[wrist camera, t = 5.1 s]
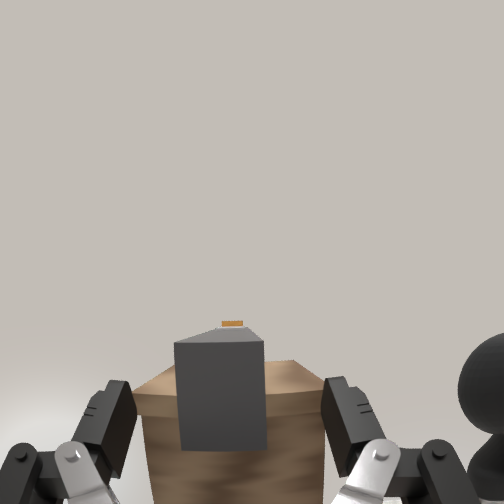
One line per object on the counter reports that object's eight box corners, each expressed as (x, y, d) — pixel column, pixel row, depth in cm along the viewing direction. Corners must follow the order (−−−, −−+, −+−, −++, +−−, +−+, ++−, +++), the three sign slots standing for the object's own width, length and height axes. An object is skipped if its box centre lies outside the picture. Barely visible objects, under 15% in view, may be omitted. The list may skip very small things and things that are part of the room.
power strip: (249, 365, 32) (247, 320, 33) (267, 449, 10) (262, 320, 11) (220, 365, 32) (218, 321, 33) (181, 450, 9) (173, 321, 10)
